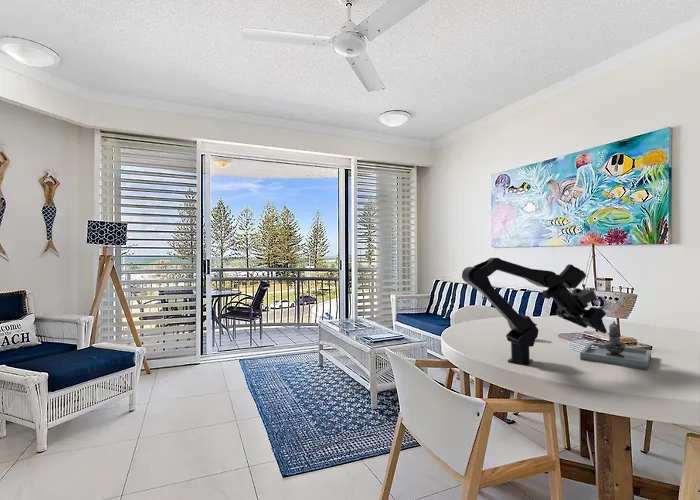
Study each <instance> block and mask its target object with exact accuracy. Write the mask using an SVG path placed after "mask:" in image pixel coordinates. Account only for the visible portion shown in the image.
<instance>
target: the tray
mask: <svg viewBox="0 0 700 500" xmlns="http://www.w3.org/2000/svg"><path fill="white" fill-rule="evenodd" d="M605 344H606V343H597V342H596V343H595V342H588V344H587V345H586V346H584V348H583V349H582V350H581V351H580V352H579V356H580V357H579V359H580V360H581V361H586V362H591V363H600V364H604V365H605V364H606V365H610V366H611V365H613V366H618V367H619V366H620V367H625V368H629V369H630V368H631V369H637V370H645V371H648V368H649V365H650V362H651V358H652V356H651V354H652V351H651V349H645V348H639V347H638V348H637V347H630V346H628V347H627V346H625V348H624V351H623V352H622V353H619V354H622V355H624V356H625V357H623V358H620V357H613V356H607V355H606V354H607V353H611V352H609V351H608V350H607V349H606V346H605ZM592 345H594V346H598V347H599V349H591V346H592Z"/></svg>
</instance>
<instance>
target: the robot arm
mask: <svg viewBox="0 0 700 500" xmlns="http://www.w3.org/2000/svg"><path fill="white" fill-rule="evenodd" d="M497 271H499V272H502V273H506V274H509V275H512V276H515V277H518V278H522V279H524V280H526V281H527V282H529V283H530V284H532V285H535V286H537V287H541V288H547V289H546V290H544V289H543V290H542V295H541V298H543V299H545V300H546V299H548V300H550V299H552V300H553V301H554V302H555V303H556V304H557V305H556V307H557V309H555V314H556V315H557V316H558V318H561V319H564V320H565V321H568V322H571V323H573V324H575V325H578V326H579V327H582V328H584V329H587V328H588V327H590V328H592V329H593V330H596V331H597V332H601V333H602V334H606V333H607V328H606V326H605V324H604V322H603V318H604V317H605V316H606V315H607V312H606V311H605V310H604V309H603V308H600V307H596V306H593V307H592V306H591V307H590V308H589V309H586V308H588V306H589V303H591V302H593V301H596V300H597V299H598V296H597V295H596V292H595V291H594V289H587V288H586V289H583V288H582V289H581V288H577V287H579V285H580V284H581V283H582V282H583V281H584V280H585V279H586V277H587V273H585V271H583V270H582V269H580V268H579V267H576V266H574V265H573V264H567V265H566V266H565V268H564V269H563V270H561V272H560V273H559V274H556V273H555V271H553V270H544V269H537V268H536V269H534V268H529V267H526V266H524V265H520V264H517V263H514V262H510V261H507V260H504V259H501V258H499V257H490V258H488V259H486V260H485V261H482V262H480V263H477V264H476V265H473V266H467V267H465V268H464V269H463V270H462V273H461V277H462V280H463V281H464V282H465V283H466V284H468V285H469V286H471V287H472V288H473V289H475V290H477V291H478V292H480V293H481V294H482V295H483V296H484V298H485V299H486V300H487V301H488V302H489V303H490V304H491V305H492V306H493V307H494V309H496V310H497V311H498V312H499V314H500V315H501V316H502V317H503V318H504V319H505V320H506V321H507V324H508V326H509V328H510V330H509V332H508V333H507V334H506V336H505V337H506V340H507V341H508V342H510V353H511V355H510V357H511V358H509V359H507V362H508V363H512V364H513V363H514V364H518V365H523V366H528V365H530V364H531V363H533V362H534V359H532V358H530V348H531V347H534V345H535V343H536V342H535V341H536V339H537V338H538V337H539V336H538V335H539V328H538V327H537V326H538V324H536V323H535V322H534V321H533V320H532V318H531V317H530V316H529V315H525V314H522V313H518V311H516V310H515V309H514V307H512V305H511V304H509V302H508V301H507V300H506V299H505V298H504V297H503V296H502V294H500V293H499V292H498V290H497V289H496V288H494V287H493V285H492V284H491V283H492V282H491V281H490V278H489V277H490V276H492V274H494V273H496V272H497ZM571 289H572V292H571V291H570V290H571Z"/></svg>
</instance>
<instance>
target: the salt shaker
mask: <svg viewBox="0 0 700 500" xmlns="http://www.w3.org/2000/svg"><path fill="white" fill-rule="evenodd" d="M608 329H609V333H607V334H608V337H609V340H608V342H607V343H604V344H605V346H606V349H607V350H608V351H609V352H611V353H607V354H606V355H607V356H613V357H620V358H623V357H625V356H624V355H622V354H619V353H622V352H623V351H624V348H625V347H626V346H625V345H624V344H622V343H621V336H622V334H620V332H621V331H620V325H619V324H617V323H616V322H615V320H614V321H613V322H612V323H610V324H609V326H608Z"/></svg>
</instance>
